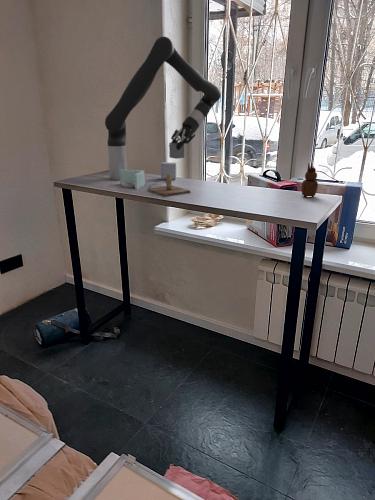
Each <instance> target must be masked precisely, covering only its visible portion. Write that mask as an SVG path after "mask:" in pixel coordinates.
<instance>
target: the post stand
mask: <svg viewBox="0 0 375 500" xmlns="http://www.w3.org/2000/svg"><path fill="white" fill-rule="evenodd" d="M165 180H166V186H165V185H164V186H160V187H159V186H158V187H152V188H148V189H147V191H148V192H149V193H153V194H156V195H159V196H162V197H171V196H177V195H184V194H185V195H186V194H191V189H190V190H189V189H188V188H187V189H186V188H182V187H178V186H176V185H172V180H171V175H170V174H168V175H167V176H166V179H165Z"/></svg>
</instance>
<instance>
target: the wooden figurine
mask: <svg viewBox="0 0 375 500" xmlns="http://www.w3.org/2000/svg"><path fill="white" fill-rule="evenodd" d="M304 178H305V180H303V181H302V183H301V187H300V189H301V191H300V192H301V195H302V196H303V195H305V196H314V197H315V196H316V195H317V192H318V186H319V182H318V181H317V178H318V173H317V170H316V167H315V166H314V165H313V163H311V164H310V162H307V171H306V172H305V174H304Z"/></svg>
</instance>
